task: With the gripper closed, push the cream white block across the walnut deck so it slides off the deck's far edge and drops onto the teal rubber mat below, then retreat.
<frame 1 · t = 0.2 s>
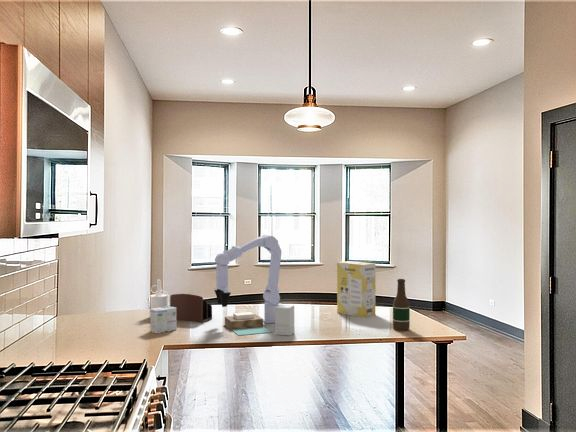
hand: (222, 305, 249), 10 cm above the worktop, tool pointing down, fingers open, 7 cm apart
deck: (243, 325, 248), on the worktop
supplement box: (284, 333, 232), on the worktop
beer bottle: (401, 329, 240), on the worktop
pasta box: (356, 314, 277), on the worktop
light bulb box: (163, 331, 238), on the worktop
mat: (251, 331, 236), on the worktop
letter holder: (190, 320, 263), on the worktop
paint can: (160, 317, 270), on the worktop
cream white block: (243, 317, 248), point 4 cm above the worktop, touching deck
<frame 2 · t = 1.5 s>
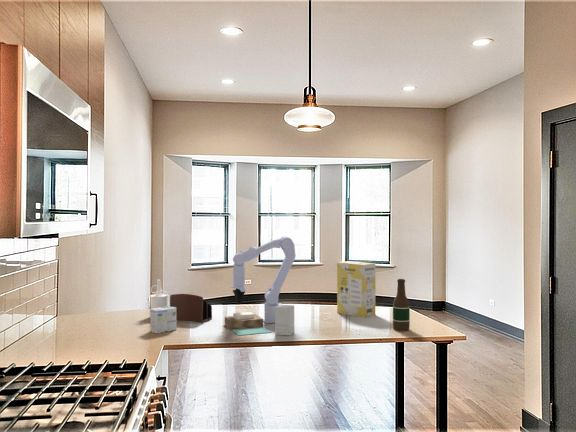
hand: (238, 304, 255), 9 cm above the worktop, tool pointing down, fingers closed
nothing on the worktop moved.
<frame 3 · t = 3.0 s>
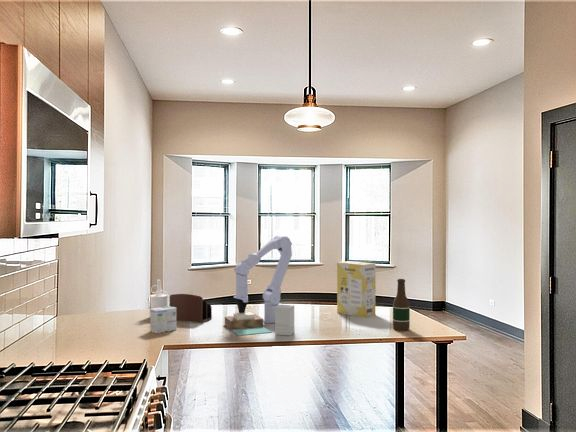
hand: (241, 314, 251), 5 cm above the worktop, tool pointing down, fingers closed
cream white block: (244, 318, 247), point 4 cm above the worktop, touching deck, gripper
everything else where it was.
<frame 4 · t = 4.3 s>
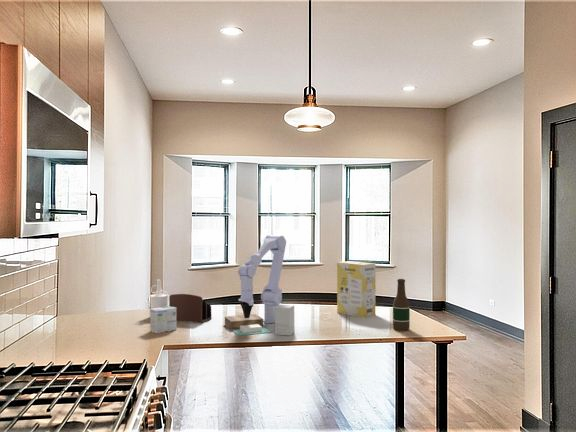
hand: (246, 317, 243), 5 cm above the worktop, tool pointing down, fingers closed
cream white block: (250, 326, 237), point 2 cm above the worktop, tilted 180°, touching mat
everything else where it was.
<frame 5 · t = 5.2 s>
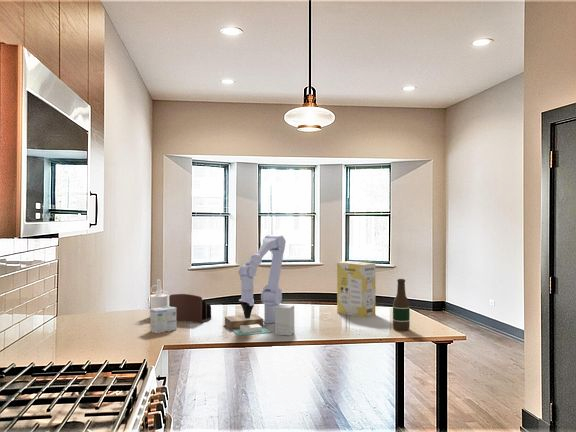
hand: (247, 318, 242), 5 cm above the worktop, tool pointing down, fingers closed
nothing on the worktop moved.
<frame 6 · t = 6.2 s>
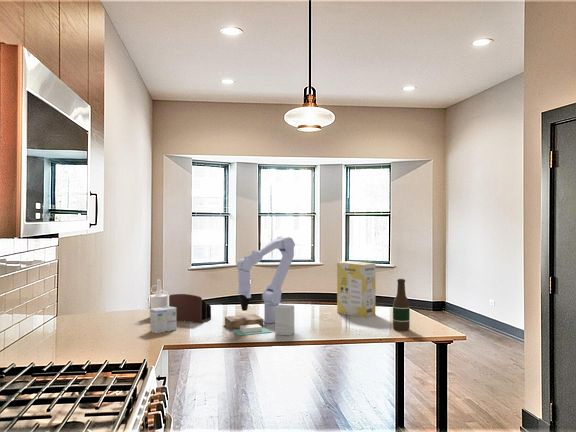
hand: (244, 310, 250), 7 cm above the worktop, tool pointing down, fingers closed
nothing on the worktop moved.
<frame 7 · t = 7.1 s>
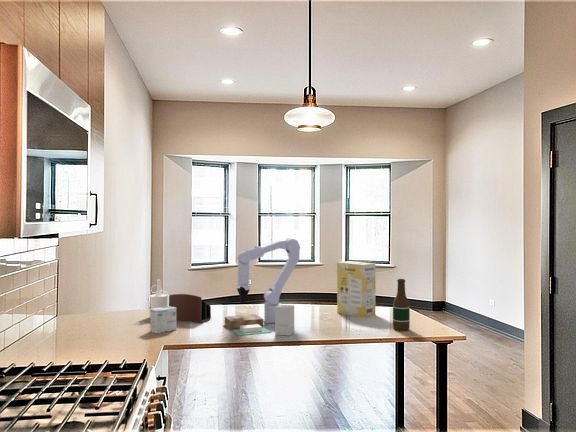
hand: (242, 302, 254), 10 cm above the worktop, tool pointing down, fingers closed
nothing on the worktop moved.
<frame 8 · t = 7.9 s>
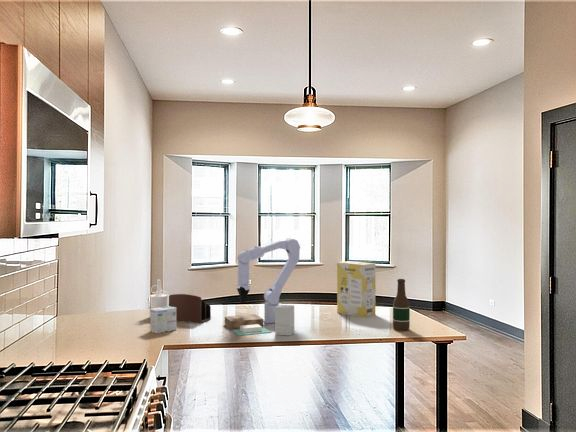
hand: (242, 302, 254), 10 cm above the worktop, tool pointing down, fingers closed
nothing on the worktop moved.
at the end: cream white block point 2.3 cm above the worktop; cream white block inside the target area on the mat (0.7 cm from its centre), point 2.3 cm above the mat's base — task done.
